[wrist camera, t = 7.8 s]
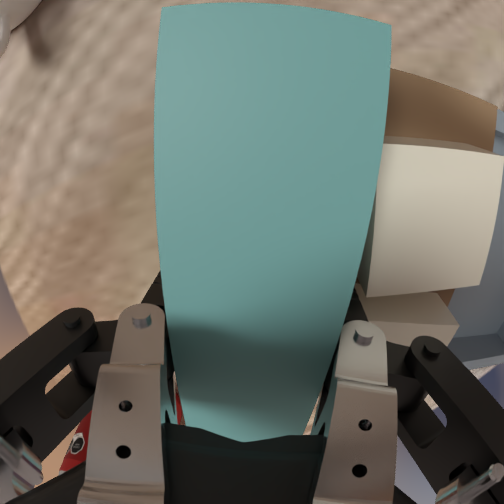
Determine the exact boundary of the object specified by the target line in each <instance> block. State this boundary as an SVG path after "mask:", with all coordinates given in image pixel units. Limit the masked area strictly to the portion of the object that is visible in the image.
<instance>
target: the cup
mask: <svg viewBox="0 0 504 504" xmlns="http://www.w3.org/2000/svg"><path fill="white" fill-rule="evenodd" d="M41 1H42V0H0V58H1V56H2V55H3V54H4V52H5V50H6V49H7V46H8V43H9V39H10V32H11V30H12V29H14V28H15V27H17V26H18V25H19V24H21V23H22V22H23V21H24V20H25V19H26V18H27V17H28V16H29V15H30V14H31V13H32V12H33V11H34V10H35V8H36V7H37V6H38V5H39V3H40V2H41Z"/></svg>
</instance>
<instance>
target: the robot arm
mask: <svg viewBox="0 0 504 504" xmlns="http://www.w3.org/2000/svg"><path fill="white" fill-rule="evenodd" d="M68 364H69V366H70V368H71V370H72V371H71V372H70V373H69V374H67V375H66V376H65V377H64V378H63V379H62V380H61V381H60V382H59V383H58V384H57V385H56V386H54V387H53V388H52V389H51V390H50V391H49V392H48V393H47V394H46V395H45V387H46V385H47V383H48V382H49V381H50V380H51V379H52V378H53V377H54V376H56V375H57V374H58V373H59V372H60V371H61V370H62V369H63V368H64V367H66V366H67V365H68ZM174 371H175V370H174V364H173V358H172V352H171V346H170V340H169V333H168V326H167V319H166V312H165V304H164V296H163V288H162V279H161V270H160V272H159V273H158V275H157V277H156V278H155V280H154V282H153V284H152V285H151V287H150V288H149V290H148V292H147V293H146V295H145V297H144V298H143V300H142V302H141V304H136V305H132V306H130V307H128V308H126V309H125V310H124V311H123V312H122V313H121V314H120V316H119V319H118V320H114V321H100V322H95V320H94V316H93V314H92V313H91V312H90V311H89V310H87V309H85V308H71V309H68V310H65V311H63V312H62V313H60V314H59V315H57V316H56V317H55V318H53V319H52V320H51V321H49V322H48V323H47V324H45V325H44V326H43V327H41V328H40V329H39V330H37V331H36V332H35V333H33V334H32V335H31V336H29V337H28V338H27V339H26V340H25V341H23V342H22V343H20V344H19V345H18V346H17V347H15V348H14V349H13V350H11V351H10V352H9V353H8V354H6V355H5V356H4V357H3V358H2V359H0V504H417V503H416V502H414V501H413V500H412V499H411V498H410V497H408V496H407V495H406V494H405V493H403V492H402V491H401V490H400V489H399V488H398V487H396V486H395V485H394V483H395V471H396V470H395V469H396V455H397V435H398V437H399V438H400V439H401V441H402V443H403V444H404V446H405V447H406V448H407V450H408V452H409V453H410V455H411V456H412V458H413V459H414V461H415V462H416V464H417V465H418V467H419V468H420V470H421V471H422V473H423V474H424V476H425V477H426V479H427V480H428V482H429V483H430V485H431V487H432V488H433V490H434V491H435V493H436V494H437V497H436V501H435V504H504V409H503V408H502V407H501V406H500V404H499V403H498V402H497V401H496V400H495V399H494V398H493V396H492V395H491V394H490V393H489V392H488V391H487V389H486V388H485V387H484V386H483V385H482V384H481V383H480V382H479V381H478V379H477V378H476V377H475V376H474V375H473V374H472V373H471V372H470V371H469V370H468V368H467V367H466V366H465V365H464V364H463V363H462V362H461V361H460V360H459V359H458V358H457V357H456V356H455V355H454V354H453V353H452V352H451V350H450V349H449V348H448V347H447V346H446V345H445V344H444V343H443V342H441V341H440V340H438V339H436V338H434V337H431V336H418V337H416V338H415V339H413V341H412V343H411V345H410V347H409V346H404V345H400V344H395V343H392V342H389V341H386V337H385V334H384V332H383V331H382V330H381V329H380V328H379V327H378V326H376V325H374V324H372V323H370V322H369V321H368V319H367V316H366V314H365V311H364V309H363V306H362V304H361V301H360V300H359V296H358V294H357V293H356V289H355V287H354V289H353V292H352V296H351V300H350V303H349V307H348V310H347V313H346V317H345V320H344V323H343V327H342V330H341V333H340V336H339V339H338V342H337V345H336V348H335V351H334V354H333V357H332V360H331V363H330V366H329V369H328V372H327V374H326V377H325V380H324V383H323V385H322V388H321V391H320V396H319V400H318V405H317V409H316V414H315V418H314V422H313V426H312V430H311V434H310V435H286V436H281V437H275V438H270V439H264V440H257V441H251V442H240V441H237V440H234V439H230V438H227V437H224V436H221V435H218V434H215V433H213V432H210V431H207V430H204V429H202V428H197V427H190V426H184V425H178V423H177V409H176V392H175V376H174ZM428 394H429V395H430V396H431V397H432V399H433V400H434V401H435V402H436V404H437V405H438V406H439V407H440V409H441V410H442V411H443V413H444V414H445V415H446V418H447V426H446V428H445V427H444V425H443V424H442V423H441V421H440V420H439V419H438V417H437V416H436V415H435V414H434V412H433V411H432V410H431V408H430V407H429V406H428V404H427V403H426V402H425V401H424V399H425V398H426V396H427V395H428ZM91 410H92V414H91V422H90V430H89V438H88V447H87V458H86V460H85V461H83V462H82V463H80V464H78V465H76V466H75V467H73V468H71V469H69V470H68V471H66V472H64V473H62V474H60V475H59V476H57V477H55V478H53V479H51V480H49V481H48V482H46V483H44V484H42V485H40V486H38V487H36V488H34V486H35V485H38V484H40V483H41V482H42V481H43V474H42V472H41V470H42V465H41V462H42V461H43V460H44V459H45V458H46V457H47V456H48V455H49V454H50V453H51V452H52V451H53V450H54V449H55V448H56V447H57V446H58V445H59V444H60V442H61V441H62V440H63V439H64V438H65V437H66V436H67V435H68V434H69V433H70V432H71V431H72V430H73V429H74V428H75V427H76V426H77V425H78V424H79V423H80V422H81V420H82V419H83V418H84V417H85V416H86V415H87V414H88V413H89V412H90V411H91Z"/></svg>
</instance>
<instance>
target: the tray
mask: <svg viewBox="0 0 504 504" xmlns="http://www.w3.org/2000/svg"><path fill="white" fill-rule="evenodd" d="M493 153H496V154H499V155H502V156H504V112H502V111H500V110H498V109H497V121H496V131H495V139H494V147H493ZM447 308H448V309H449V311H450V312H451V313H452V315H453V316H454V318H455V319H456V321H457V322H458V324H459V325H460V326H459V328H458V329H457V331H456V333H455V335H454V336H453V338H452V340H451V341H450V343H449V344H448V346H447V347H448V348H449V349H450V350H451V352H452V353H453V354H454V355H455V356H456V357H457V358H458V359H459V360H460V361H461V362H462V363H463V364H464V365H465V366H466V367H467V368H468V370H471V369H477V368H482V367H487V366H492V365H496V364H501V363H504V165H503V175H502V184H501V191H500V198H499V205H498V210H497V216H496V221H495V226H494V231H493V236H492V240H491V244H490V248H489V252H488V256H487V260H486V264H485V267H484V271H483V274H482V278H481V281H480V284H479V285H476V286H469V287H461V288H455V290H454V293H453V295H452V298H451V300H450V302H449V305H448V307H447Z"/></svg>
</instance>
